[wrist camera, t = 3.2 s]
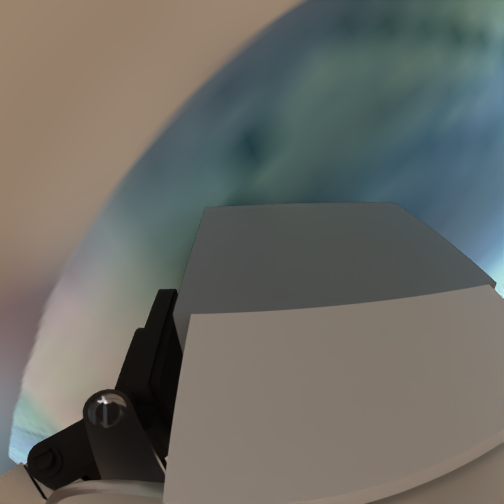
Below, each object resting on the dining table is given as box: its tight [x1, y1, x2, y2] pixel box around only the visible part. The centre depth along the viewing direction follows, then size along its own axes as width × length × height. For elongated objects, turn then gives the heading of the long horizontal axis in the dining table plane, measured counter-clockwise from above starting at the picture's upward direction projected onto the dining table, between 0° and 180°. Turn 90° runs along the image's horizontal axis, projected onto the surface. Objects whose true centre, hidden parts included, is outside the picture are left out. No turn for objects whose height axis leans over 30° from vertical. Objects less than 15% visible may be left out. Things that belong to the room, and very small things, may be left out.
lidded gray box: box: [163, 202, 504, 504], centre depth 7 cm, size 8×6×9 cm
